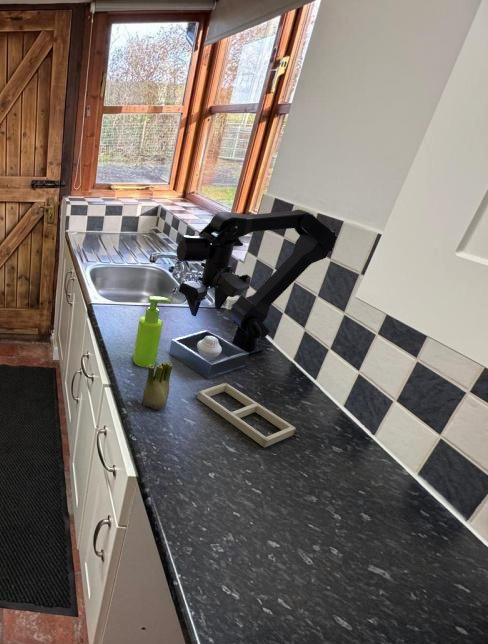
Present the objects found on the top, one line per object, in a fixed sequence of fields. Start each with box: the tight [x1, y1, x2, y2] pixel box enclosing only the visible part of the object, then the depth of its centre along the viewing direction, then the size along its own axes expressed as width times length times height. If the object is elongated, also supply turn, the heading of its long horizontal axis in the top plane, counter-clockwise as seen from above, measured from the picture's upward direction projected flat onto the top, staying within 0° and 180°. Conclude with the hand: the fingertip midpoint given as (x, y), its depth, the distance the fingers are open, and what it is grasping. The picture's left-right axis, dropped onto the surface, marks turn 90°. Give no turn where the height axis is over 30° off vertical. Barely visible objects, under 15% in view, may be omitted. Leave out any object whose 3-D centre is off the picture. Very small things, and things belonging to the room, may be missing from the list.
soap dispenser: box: [132, 296, 172, 369], centre depth 110 cm, size 6×7×20 cm
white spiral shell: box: [197, 336, 222, 361], centre depth 112 cm, size 6×6×7 cm
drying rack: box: [196, 382, 297, 448], centre depth 93 cm, size 9×17×2 cm, turn 22°
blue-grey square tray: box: [168, 329, 249, 380], centre depth 113 cm, size 14×14×5 cm
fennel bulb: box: [142, 361, 174, 411], centre depth 95 cm, size 6×5×12 cm
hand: (205, 312), depth 115 cm, fingers open, 9 cm apart
